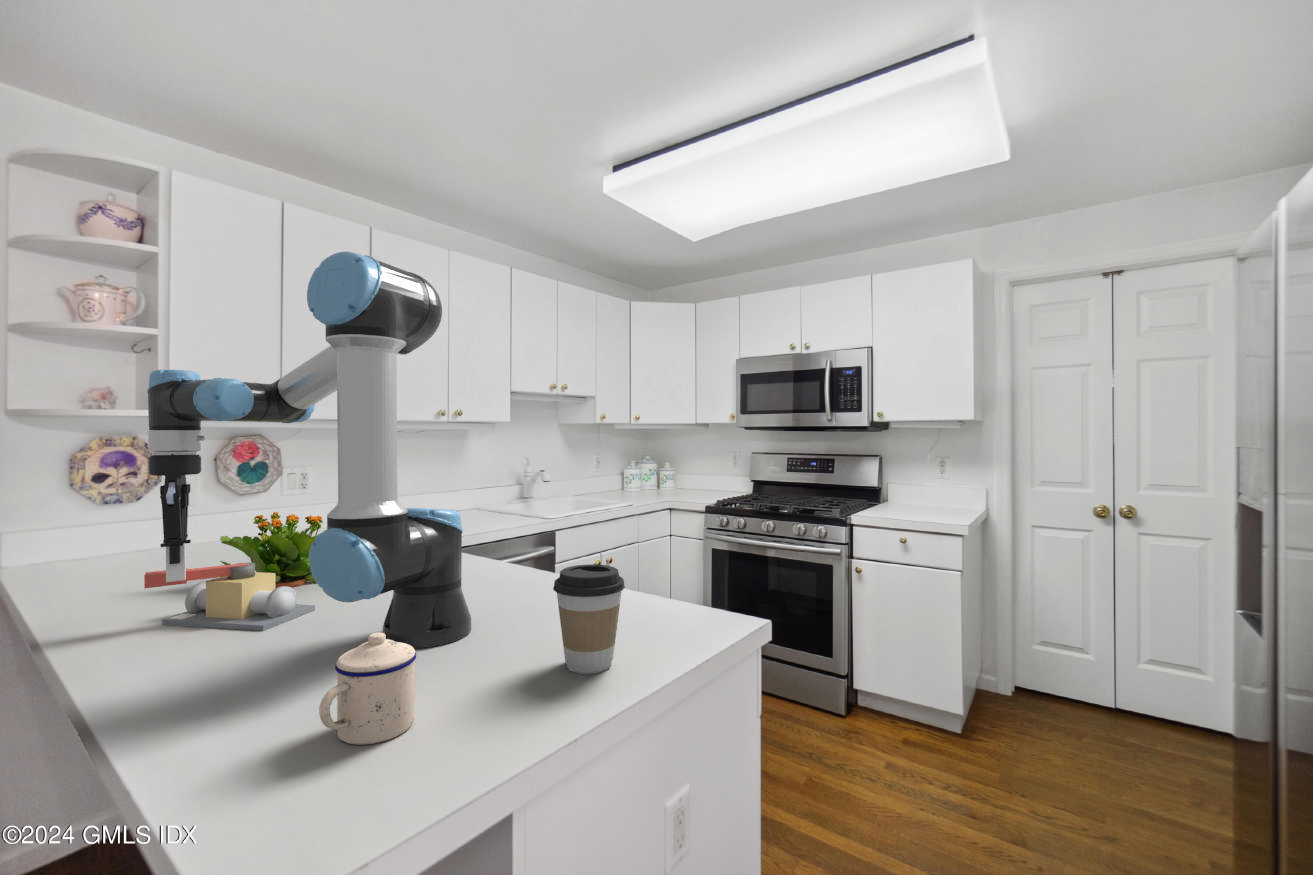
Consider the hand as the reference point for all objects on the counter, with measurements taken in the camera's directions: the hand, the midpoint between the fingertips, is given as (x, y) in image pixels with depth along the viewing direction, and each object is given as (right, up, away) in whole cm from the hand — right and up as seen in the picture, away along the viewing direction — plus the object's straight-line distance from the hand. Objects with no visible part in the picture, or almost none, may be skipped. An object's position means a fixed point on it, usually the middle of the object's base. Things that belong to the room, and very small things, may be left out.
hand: (176, 580), depth 108 cm
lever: (+2, -1, +4) cm, 5 cm away
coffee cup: (+79, -10, -16) cm, 81 cm away
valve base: (+7, -9, +8) cm, 14 cm away
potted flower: (-2, -9, +33) cm, 34 cm away
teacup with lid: (+54, -10, -37) cm, 66 cm away
